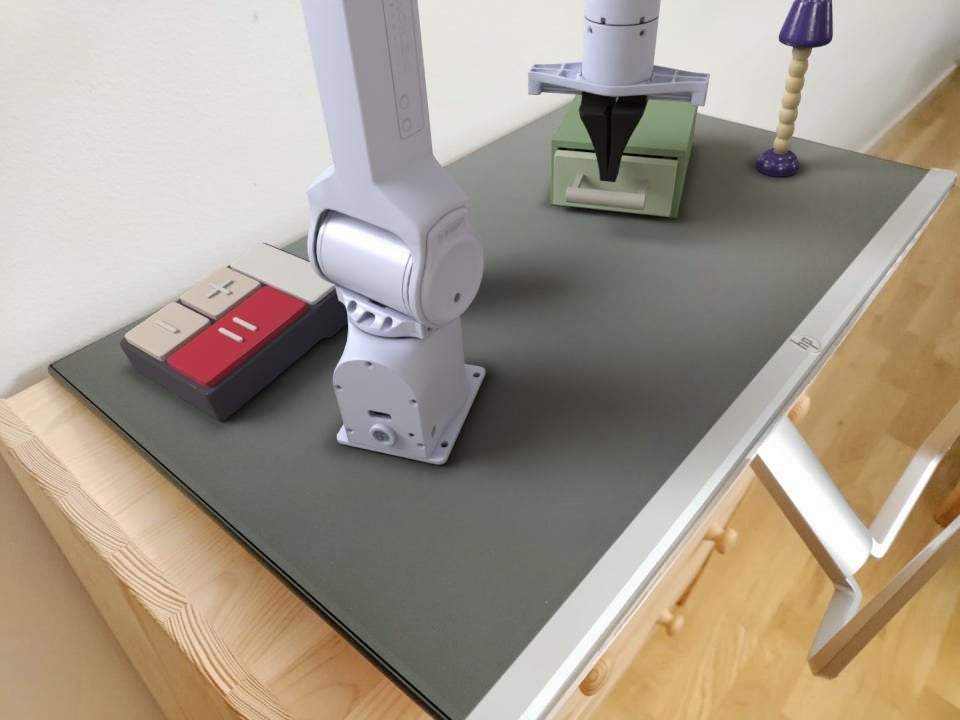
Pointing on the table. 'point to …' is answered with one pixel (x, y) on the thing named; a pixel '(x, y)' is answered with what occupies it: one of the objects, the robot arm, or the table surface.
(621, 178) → the drawer
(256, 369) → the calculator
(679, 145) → the cabinet
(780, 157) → the toy lamp
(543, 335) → the table surface
